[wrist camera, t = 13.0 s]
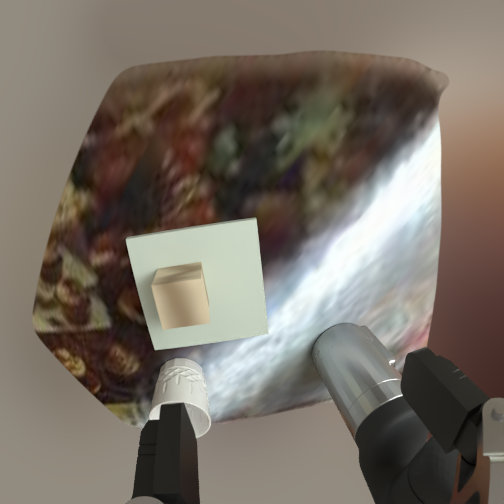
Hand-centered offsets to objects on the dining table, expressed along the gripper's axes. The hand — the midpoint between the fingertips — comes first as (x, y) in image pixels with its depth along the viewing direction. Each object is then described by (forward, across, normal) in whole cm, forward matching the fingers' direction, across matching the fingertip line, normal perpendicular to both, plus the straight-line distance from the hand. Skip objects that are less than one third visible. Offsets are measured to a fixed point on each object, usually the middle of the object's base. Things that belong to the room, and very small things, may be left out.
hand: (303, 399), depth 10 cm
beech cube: (+29, +7, +7) cm, 31 cm away
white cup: (+30, +10, +22) cm, 39 cm away
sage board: (+30, +5, +8) cm, 32 cm away
